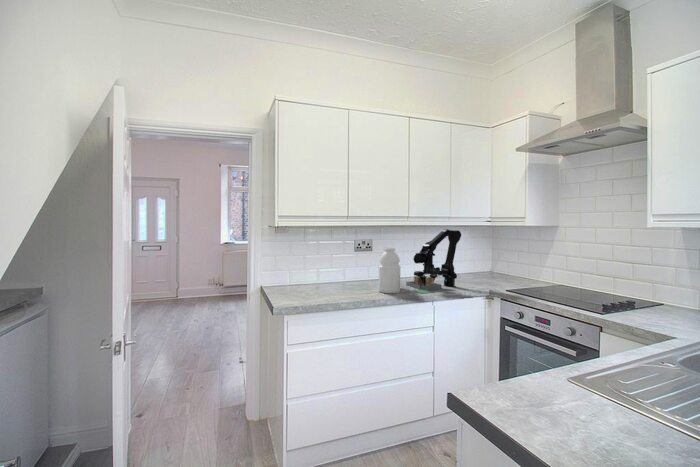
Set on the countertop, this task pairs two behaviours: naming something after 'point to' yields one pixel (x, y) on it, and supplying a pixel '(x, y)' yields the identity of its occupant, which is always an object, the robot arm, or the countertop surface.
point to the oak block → (429, 281)
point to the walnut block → (418, 281)
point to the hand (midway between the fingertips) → (428, 286)
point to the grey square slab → (435, 286)
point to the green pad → (423, 291)
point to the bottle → (389, 272)
